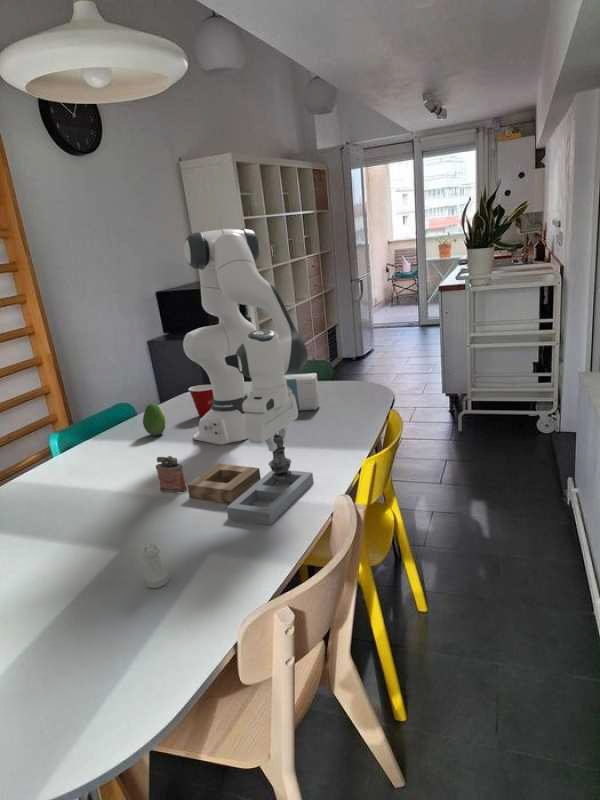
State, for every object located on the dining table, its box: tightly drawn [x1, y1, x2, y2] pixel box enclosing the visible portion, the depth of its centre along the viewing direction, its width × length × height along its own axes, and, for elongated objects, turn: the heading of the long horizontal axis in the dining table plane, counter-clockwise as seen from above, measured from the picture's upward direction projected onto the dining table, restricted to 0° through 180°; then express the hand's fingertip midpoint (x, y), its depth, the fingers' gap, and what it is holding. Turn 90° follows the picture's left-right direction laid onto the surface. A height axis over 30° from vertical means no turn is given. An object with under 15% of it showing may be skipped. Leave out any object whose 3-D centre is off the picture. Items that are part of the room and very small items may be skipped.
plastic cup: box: [187, 384, 214, 419], centre depth 216 cm, size 11×11×12 cm
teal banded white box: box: [284, 356, 321, 411], centre depth 210 cm, size 21×8×20 cm, turn 77°
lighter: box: [155, 455, 188, 494], centre depth 151 cm, size 8×3×10 cm, turn 71°
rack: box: [225, 469, 314, 526], centre depth 139 cm, size 12×23×3 cm, turn 153°
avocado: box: [142, 402, 166, 437], centre depth 200 cm, size 8×8×12 cm
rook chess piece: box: [142, 543, 169, 589], centre depth 109 cm, size 4×4×8 cm
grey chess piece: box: [268, 432, 292, 479], centre depth 141 cm, size 6×6×12 cm
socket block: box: [186, 463, 262, 505], centre depth 148 cm, size 14×14×4 cm
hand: (277, 447), depth 141 cm, fingers open, 3 cm apart
